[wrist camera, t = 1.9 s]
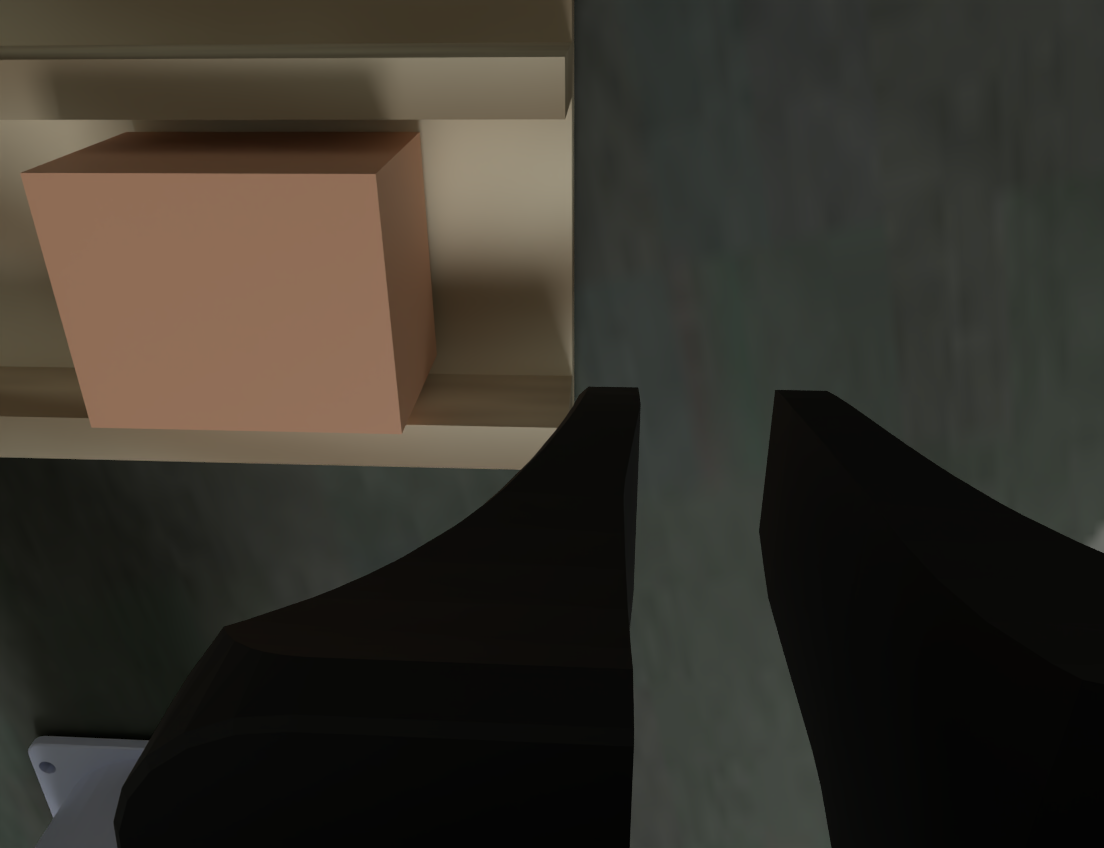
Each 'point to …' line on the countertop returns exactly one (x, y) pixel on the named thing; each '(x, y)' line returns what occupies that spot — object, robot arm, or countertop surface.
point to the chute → (318, 106)
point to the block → (242, 278)
